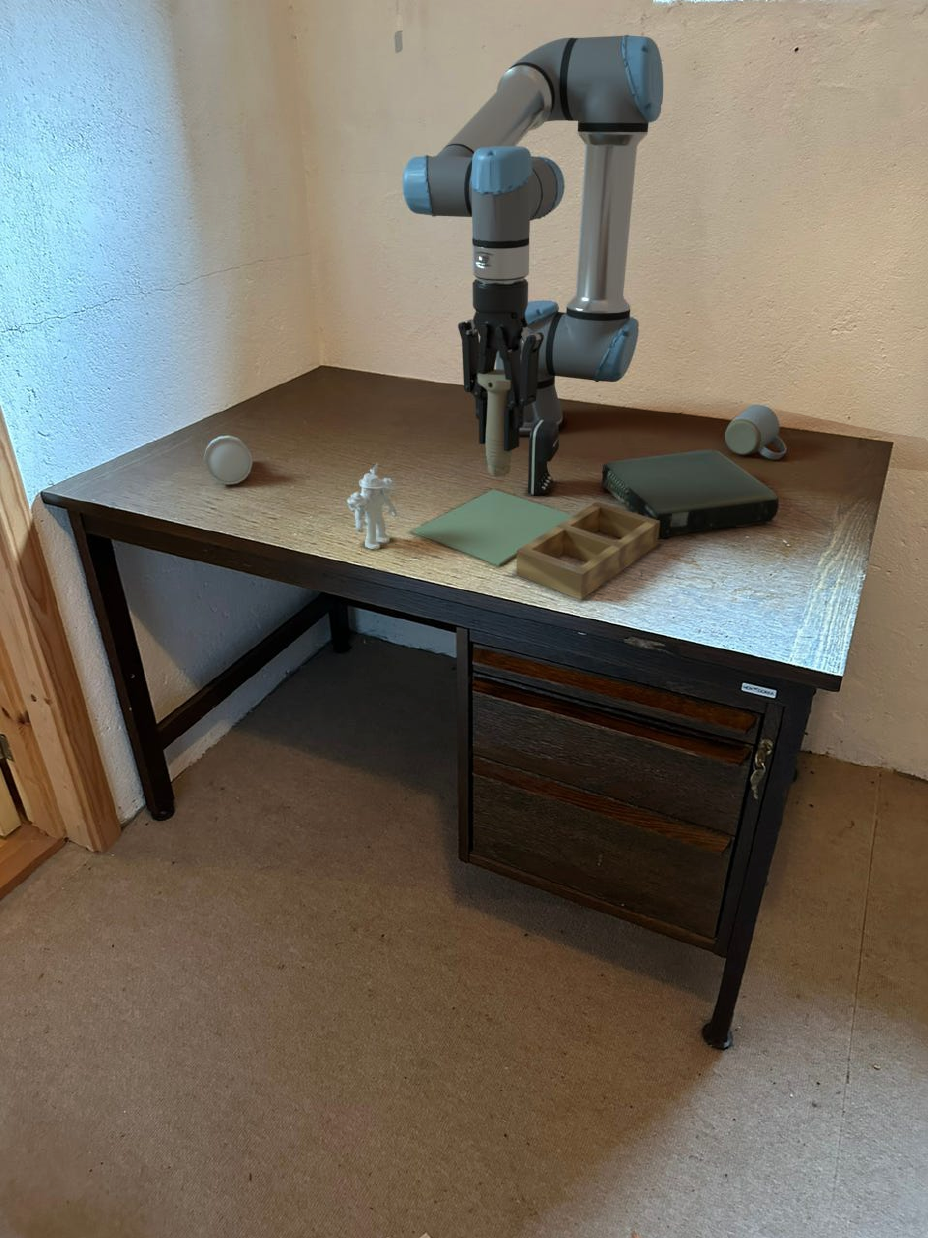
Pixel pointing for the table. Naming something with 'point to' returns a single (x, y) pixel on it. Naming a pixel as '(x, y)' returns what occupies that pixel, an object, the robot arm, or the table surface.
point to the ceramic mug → (755, 433)
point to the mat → (493, 526)
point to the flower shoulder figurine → (372, 507)
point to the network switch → (690, 491)
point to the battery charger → (541, 455)
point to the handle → (496, 421)
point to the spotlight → (228, 460)
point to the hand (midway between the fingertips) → (499, 444)
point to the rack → (587, 549)
